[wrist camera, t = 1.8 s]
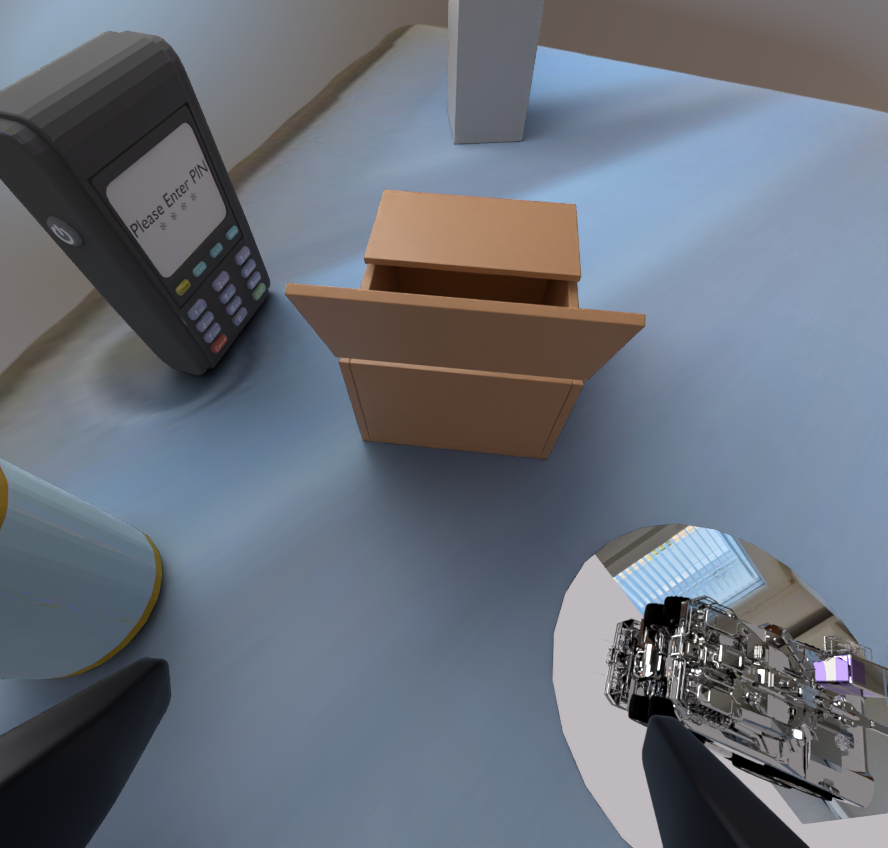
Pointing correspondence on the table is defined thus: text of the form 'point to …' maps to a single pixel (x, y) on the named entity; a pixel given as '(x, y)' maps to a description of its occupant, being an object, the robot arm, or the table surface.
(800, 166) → the table surface
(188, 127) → the card reader
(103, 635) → the bottle
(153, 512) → the table surface
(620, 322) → the lid flap
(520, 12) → the perfume bottle
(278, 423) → the table surface
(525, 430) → the carton
